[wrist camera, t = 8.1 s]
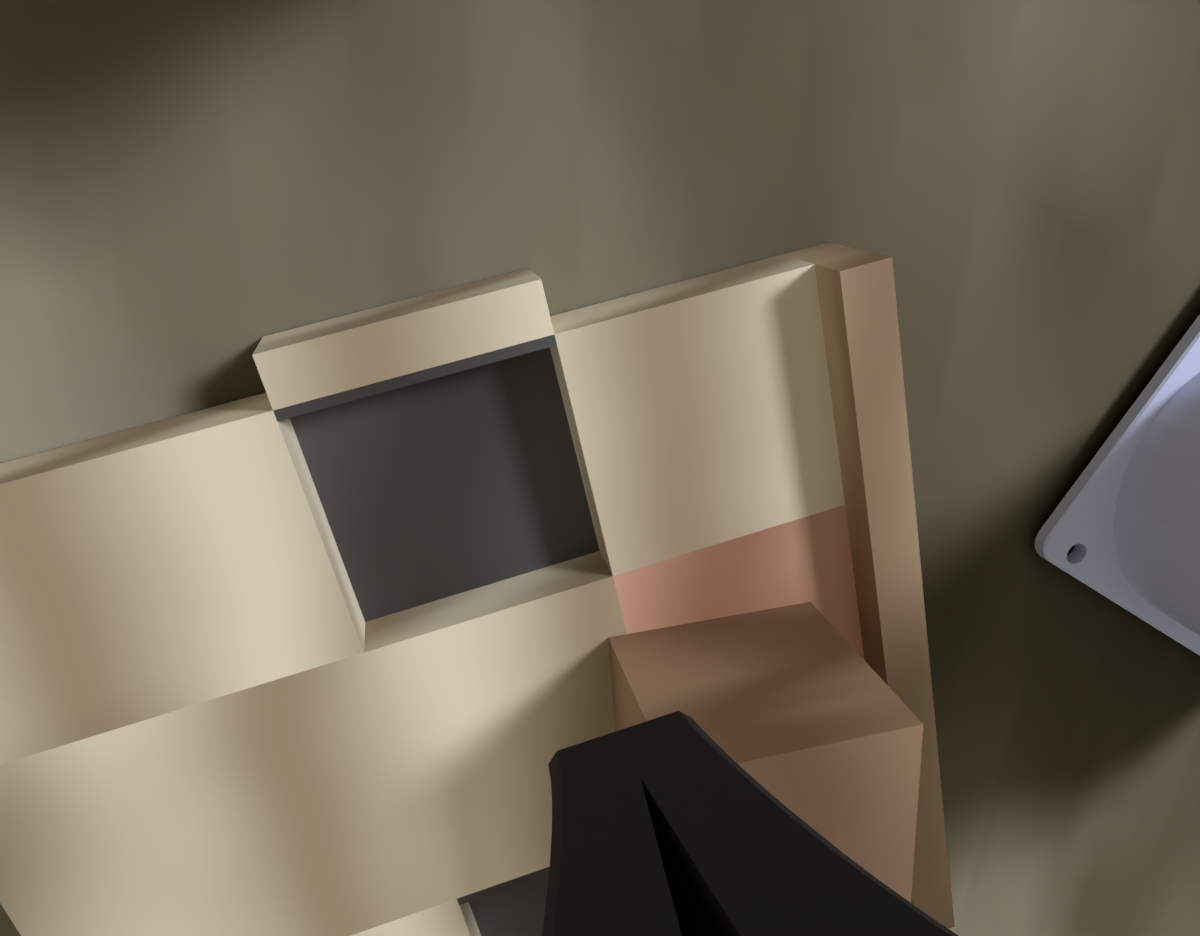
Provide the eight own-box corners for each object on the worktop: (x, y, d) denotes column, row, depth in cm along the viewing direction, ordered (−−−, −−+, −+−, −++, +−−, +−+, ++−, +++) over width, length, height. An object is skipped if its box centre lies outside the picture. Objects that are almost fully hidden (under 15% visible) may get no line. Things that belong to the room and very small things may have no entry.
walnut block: (810, 601, 19) (923, 724, 15) (807, 771, 21) (909, 922, 17) (608, 637, 19) (671, 776, 14) (620, 810, 20) (680, 980, 16)
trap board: (822, 191, 18) (886, 199, 16) (904, 879, 25) (957, 954, 23) (-207, 458, 16) (-309, 514, 13) (203, 1137, 23) (182, 1250, 20)
